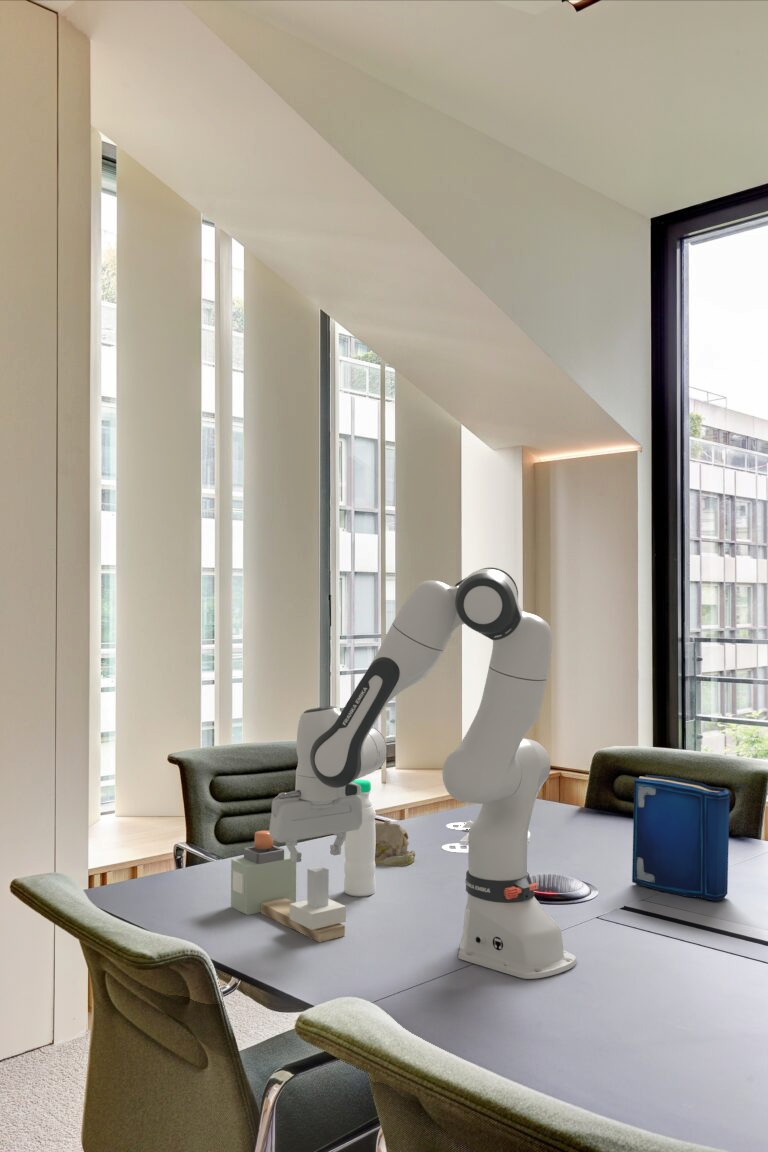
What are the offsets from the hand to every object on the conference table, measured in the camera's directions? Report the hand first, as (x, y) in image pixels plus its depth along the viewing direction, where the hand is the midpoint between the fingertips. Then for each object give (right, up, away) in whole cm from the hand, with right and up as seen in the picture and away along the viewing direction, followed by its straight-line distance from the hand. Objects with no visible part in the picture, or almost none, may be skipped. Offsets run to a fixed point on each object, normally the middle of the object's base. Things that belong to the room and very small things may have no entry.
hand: (315, 858), depth 187 cm
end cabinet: (-12, -15, +16) cm, 25 cm away
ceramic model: (+15, -17, +54) cm, 58 cm away
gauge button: (-12, -2, +16) cm, 21 cm away
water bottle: (+8, -16, +25) cm, 31 cm away
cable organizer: (+42, -18, +77) cm, 90 cm away
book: (+81, -16, +27) cm, 87 cm away
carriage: (0, -12, -1) cm, 12 cm away
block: (-3, -15, +4) cm, 16 cm away
